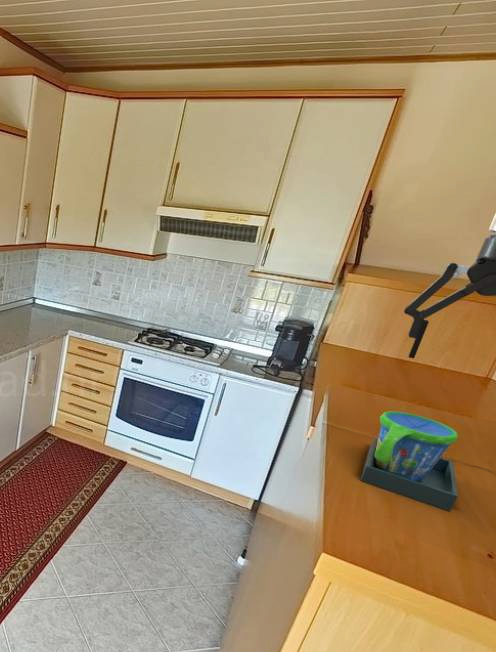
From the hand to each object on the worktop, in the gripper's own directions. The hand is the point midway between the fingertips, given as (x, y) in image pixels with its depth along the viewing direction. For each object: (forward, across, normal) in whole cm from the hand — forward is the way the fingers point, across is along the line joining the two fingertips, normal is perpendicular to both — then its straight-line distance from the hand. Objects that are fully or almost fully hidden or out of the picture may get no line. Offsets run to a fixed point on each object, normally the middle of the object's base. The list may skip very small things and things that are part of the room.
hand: (462, 367), depth 83 cm
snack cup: (+21, -3, -1) cm, 21 cm away
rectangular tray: (+22, -1, -1) cm, 22 cm away
